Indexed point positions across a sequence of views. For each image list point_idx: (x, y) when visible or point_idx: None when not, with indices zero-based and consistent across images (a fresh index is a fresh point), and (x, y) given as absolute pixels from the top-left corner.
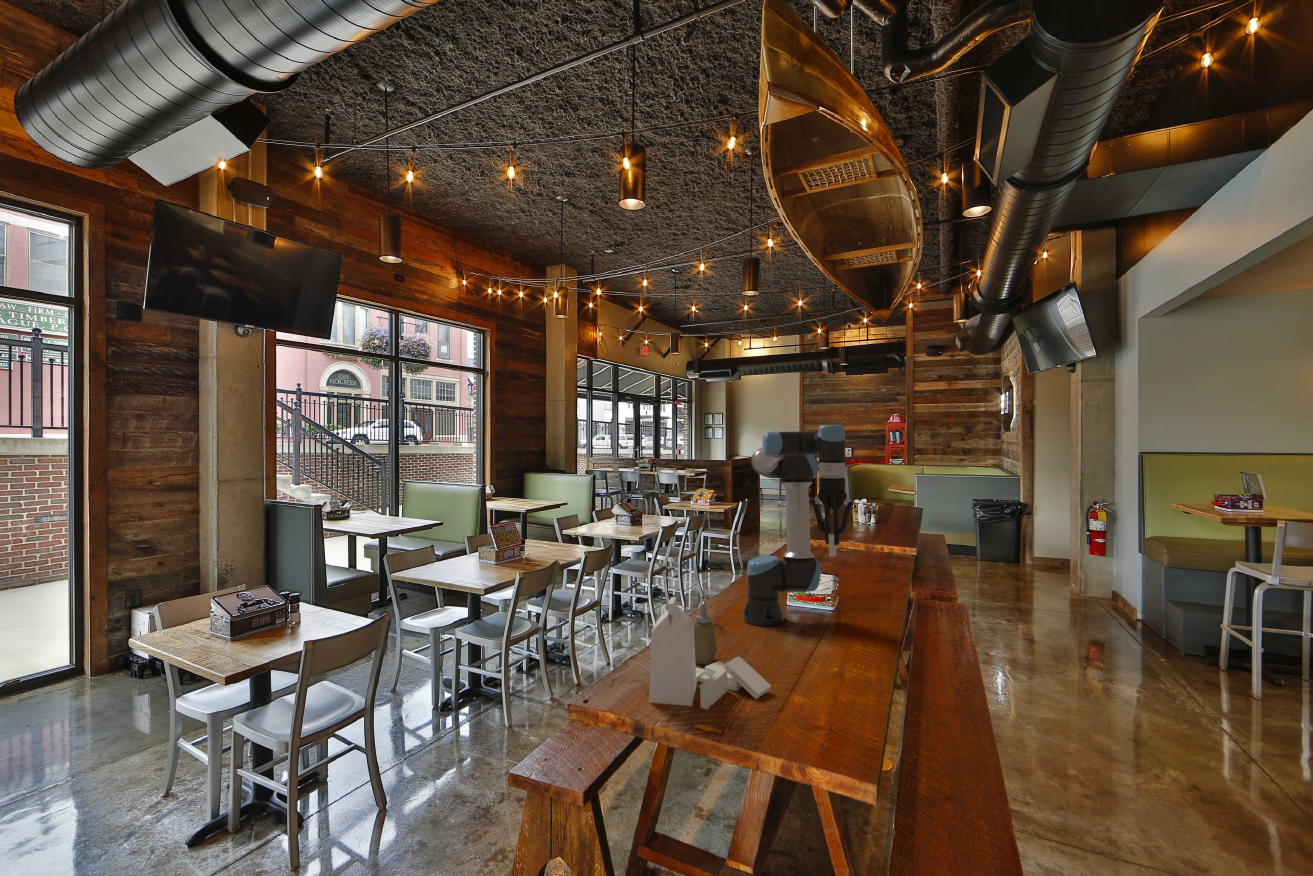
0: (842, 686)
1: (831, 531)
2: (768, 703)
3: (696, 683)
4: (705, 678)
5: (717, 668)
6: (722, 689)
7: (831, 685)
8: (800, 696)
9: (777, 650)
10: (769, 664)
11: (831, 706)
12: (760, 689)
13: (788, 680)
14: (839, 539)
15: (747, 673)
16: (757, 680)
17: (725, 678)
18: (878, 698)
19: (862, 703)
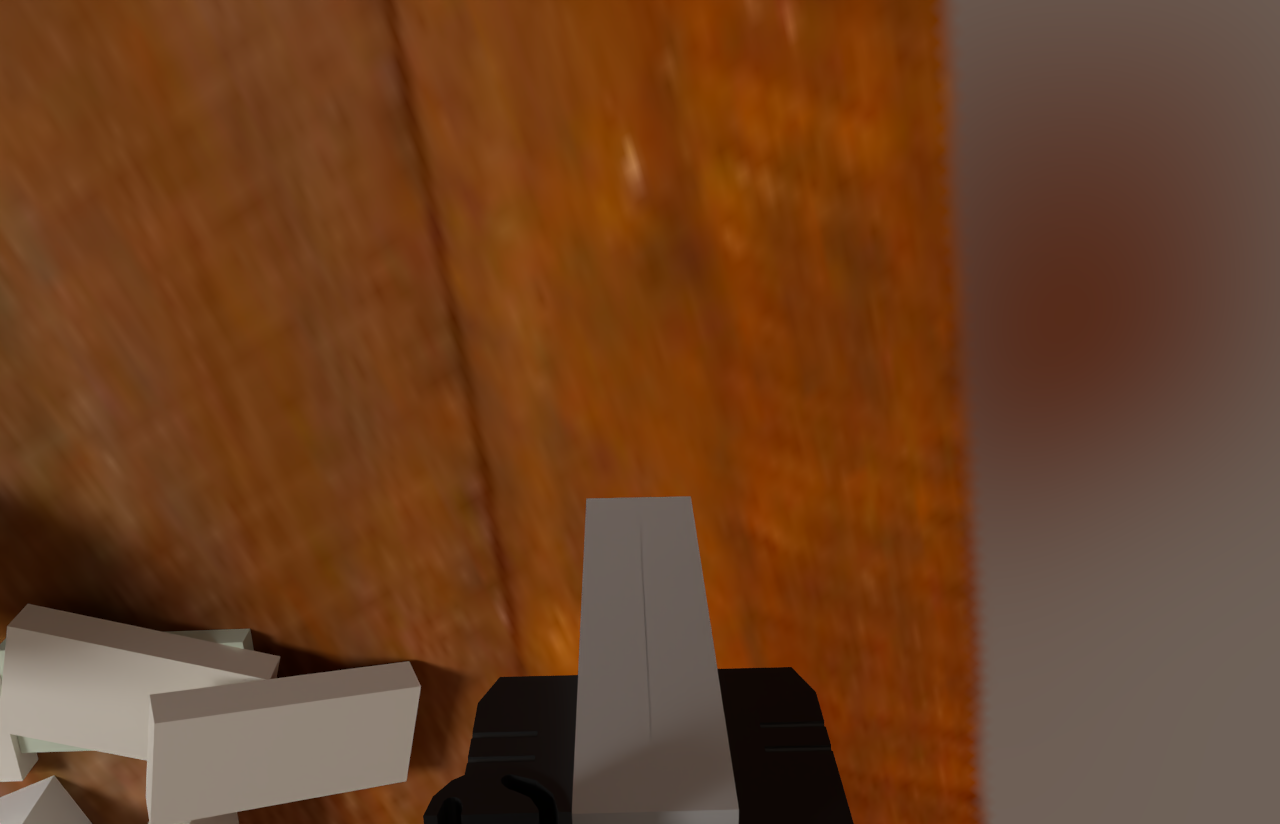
0: (738, 392)
1: (560, 802)
2: (465, 755)
3: (50, 783)
4: (61, 747)
5: (71, 713)
6: (224, 820)
7: (677, 413)
8: (572, 617)
9: (140, 67)
10: (227, 334)
11: (746, 632)
12: (396, 755)
13: (437, 481)
14: (832, 768)
15: (282, 754)
16: (350, 734)
17: (203, 820)
18: (951, 429)
19: (881, 526)
